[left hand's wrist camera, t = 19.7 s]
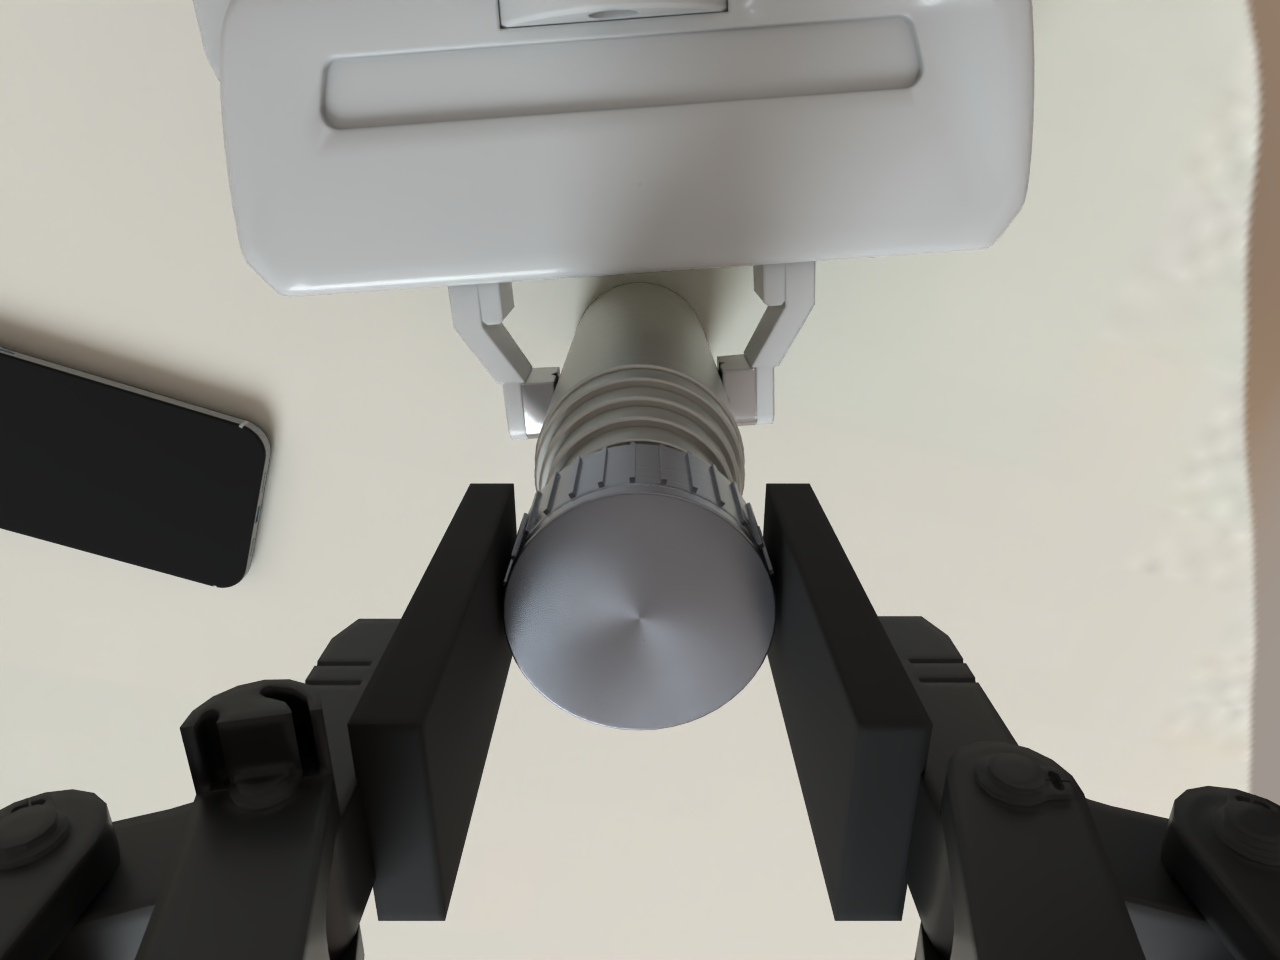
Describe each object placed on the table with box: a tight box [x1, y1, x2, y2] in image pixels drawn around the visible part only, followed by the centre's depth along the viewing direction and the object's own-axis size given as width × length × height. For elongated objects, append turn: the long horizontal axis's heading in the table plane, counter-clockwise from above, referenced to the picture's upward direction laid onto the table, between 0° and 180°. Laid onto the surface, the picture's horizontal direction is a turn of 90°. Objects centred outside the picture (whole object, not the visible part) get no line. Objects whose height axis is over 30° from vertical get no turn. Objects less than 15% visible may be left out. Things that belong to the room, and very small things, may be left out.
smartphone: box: [0, 347, 271, 588], centre depth 31 cm, size 7×1×15 cm
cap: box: [502, 442, 777, 730], centre depth 14 cm, size 4×4×2 cm
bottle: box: [535, 283, 745, 496], centre depth 22 cm, size 5×5×18 cm
